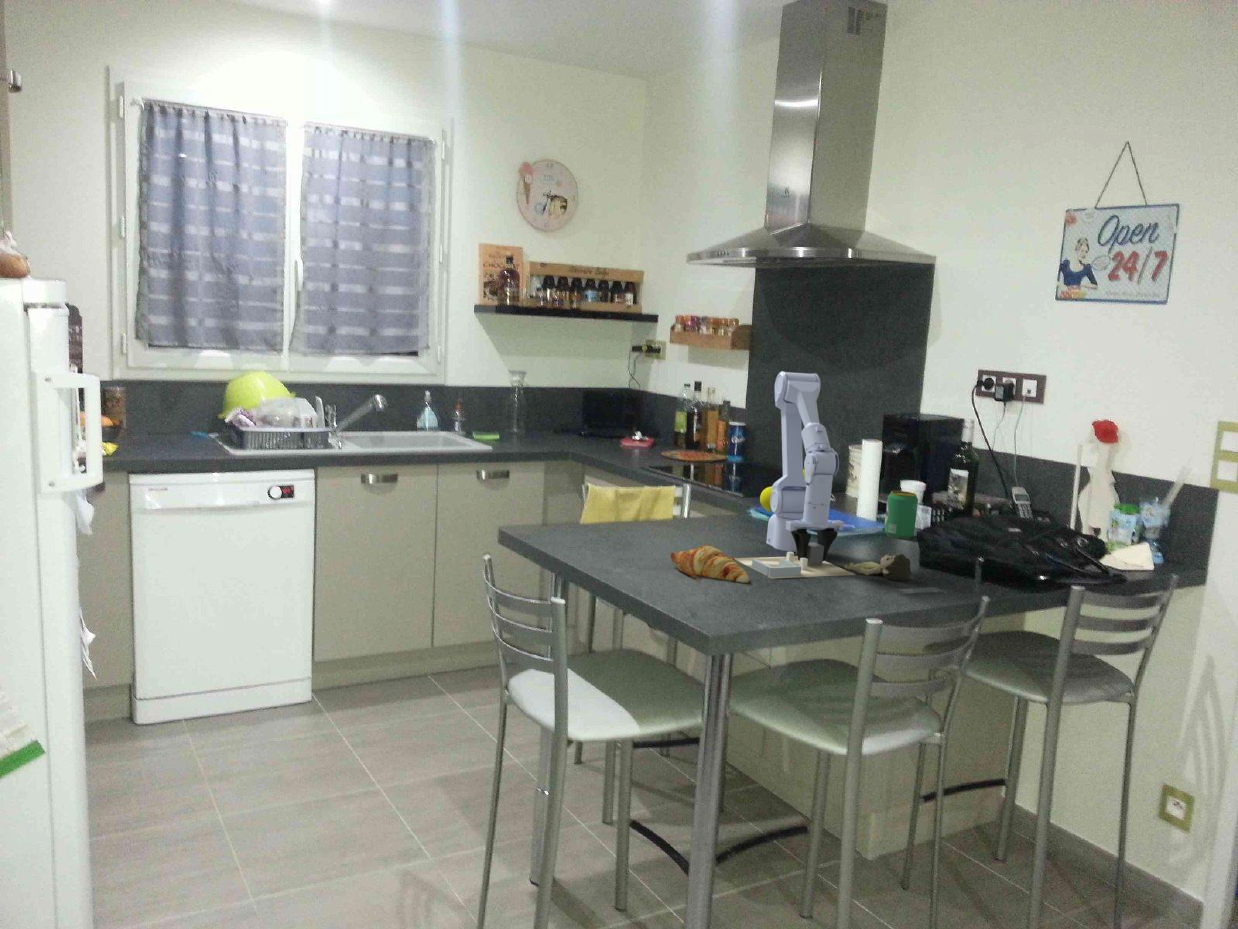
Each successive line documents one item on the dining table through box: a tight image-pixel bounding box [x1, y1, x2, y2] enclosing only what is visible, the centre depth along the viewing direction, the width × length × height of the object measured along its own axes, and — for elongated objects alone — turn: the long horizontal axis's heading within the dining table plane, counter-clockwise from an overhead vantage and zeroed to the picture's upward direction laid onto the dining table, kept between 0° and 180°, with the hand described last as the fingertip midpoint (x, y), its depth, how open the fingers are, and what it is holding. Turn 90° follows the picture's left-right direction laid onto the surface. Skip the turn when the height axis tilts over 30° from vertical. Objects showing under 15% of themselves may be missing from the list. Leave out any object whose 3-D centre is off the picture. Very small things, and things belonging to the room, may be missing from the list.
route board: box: [733, 555, 857, 579], centre depth 230 cm, size 17×22×1 cm
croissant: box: [670, 544, 750, 584], centre depth 220 cm, size 21×10×8 cm, turn 49°
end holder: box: [751, 558, 801, 578], centre depth 224 cm, size 8×8×2 cm
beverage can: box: [883, 490, 919, 540], centre depth 277 cm, size 8×8×12 cm
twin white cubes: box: [785, 551, 808, 570], centre depth 231 cm, size 7×1×2 cm, turn 23°
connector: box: [795, 541, 824, 566], centre depth 236 cm, size 8×4×4 cm, turn 23°
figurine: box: [843, 553, 912, 582], centre depth 229 cm, size 8×6×15 cm
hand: (811, 560), depth 234 cm, fingers open, 5 cm apart
